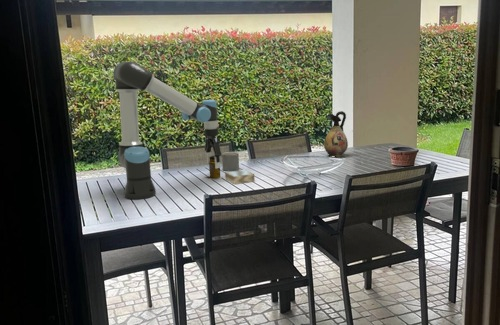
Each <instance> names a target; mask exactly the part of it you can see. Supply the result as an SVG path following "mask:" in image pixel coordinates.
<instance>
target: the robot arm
mask: <svg viewBox="0 0 500 325" xmlns="http://www.w3.org/2000/svg"><path fill="white" fill-rule="evenodd" d="M112 74H113V75H112V76H113V79H114V81H115V90H116V91H117V92H118V96H119V111H120V112H119V113H120V129H121V130H120V132H121V141H120V142H119V143H118V153H117V160H118V162H119V164H120V165H121V167H123V168H124V169H125V174H126V184H125V188H124V192H123V193H124V198H125V199H127V200H143V199H144V200H145V199H148V198H152V197H155V196H156V195H157V191H156V187H155V185H154V183H153V179H152V172H151V171H152V170H151V161H150V160H151V159H150V156H151V155H150V150H149V149H148V148H147V147H145V146H143V142H142V141H141V140H140V133H139V132H140V129H139V110H138V108H139V107H138V106H139V105H138V92H139V91H141V92H148V93H149V94H151V95H153V96H154V97H156V98H158V99H160V100H161V101H163V102H165V103H166V104H168V105H170V106H172V107H174V108H175V109H178V110H179V111H180V112H181V117H182V119H183V120H184V121H190V120H193V121H198V122H200V123H203V128H204V135H205V136H204V137H205V144H204V151H205V152H206V163H207V165H209V162H210V157H211V156H212V150H213V154H214V155H213V156H214V157H215V168H220V169H221V157H222V151H221V148H220V142H219V138H218V137H216V136H218V135H219V128H218V127H219V125H218V124H219V121H218V106H217V101H216V100H215V99H204V100H203V101H202V104H199V103H198V102H197V101H196V100H195V101H194V100H193V99H191V98H190V97H188V96H187V95H185V94H183V93H181V92H180V91H178V90H176V89H175V88H173V87H172V86H169V85H168V84H166V83H164V82H163V81H161V80H159V79H158V78H156V77H155V76H154V73H152V72H151V71H149V70H147V69H146V68H145V67H143V66H142V65H140V64H139V63H137V62H135V61H129V60H128V61H122V62H120V63H118V64H117V65H116V66H115V67H114V69H113V73H112Z"/></svg>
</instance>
